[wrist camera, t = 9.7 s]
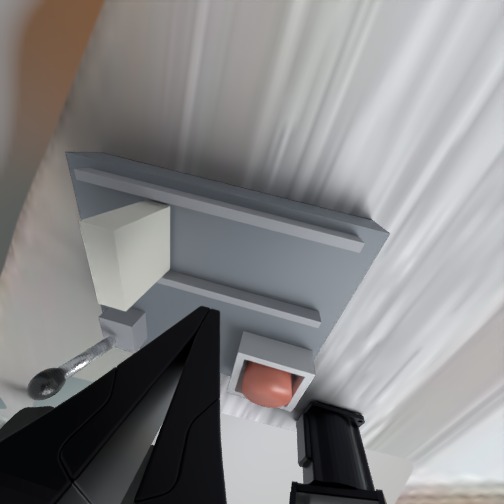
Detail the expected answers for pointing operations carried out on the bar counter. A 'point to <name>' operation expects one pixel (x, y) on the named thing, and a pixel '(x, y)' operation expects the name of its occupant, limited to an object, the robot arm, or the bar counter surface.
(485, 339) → the bar counter surface
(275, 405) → the push button
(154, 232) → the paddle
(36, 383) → the toggle lever
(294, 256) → the switch panel
